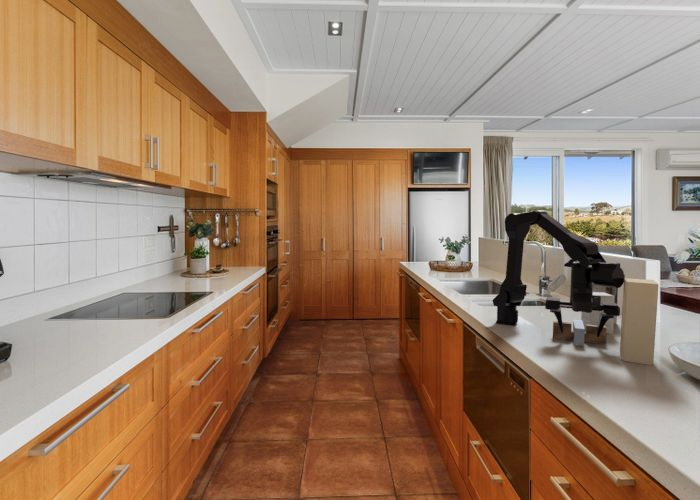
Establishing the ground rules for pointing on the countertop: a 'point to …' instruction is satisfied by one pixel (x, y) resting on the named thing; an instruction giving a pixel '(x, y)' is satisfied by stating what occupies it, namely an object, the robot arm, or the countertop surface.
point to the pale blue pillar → (578, 332)
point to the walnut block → (589, 334)
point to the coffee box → (607, 290)
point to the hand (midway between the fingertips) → (579, 334)
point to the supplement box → (594, 315)
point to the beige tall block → (638, 320)
